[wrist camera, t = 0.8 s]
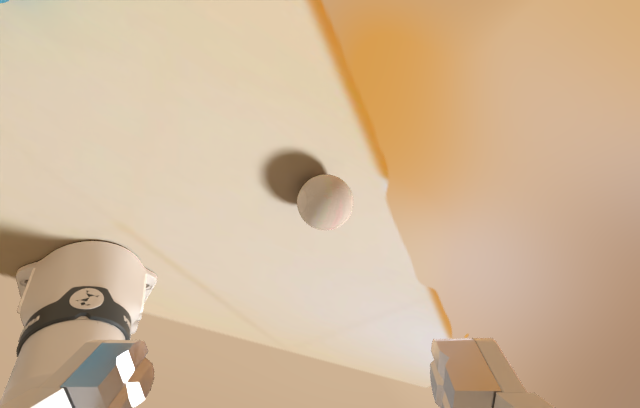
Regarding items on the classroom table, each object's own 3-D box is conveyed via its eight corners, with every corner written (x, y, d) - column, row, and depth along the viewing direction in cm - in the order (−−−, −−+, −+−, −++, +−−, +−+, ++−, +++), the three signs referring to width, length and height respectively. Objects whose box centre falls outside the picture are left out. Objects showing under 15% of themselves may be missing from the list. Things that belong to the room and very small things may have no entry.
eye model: (330, 212, 66) (353, 241, 58) (284, 210, 61) (302, 242, 53) (345, 168, 61) (371, 193, 53) (296, 162, 56) (318, 189, 49)
